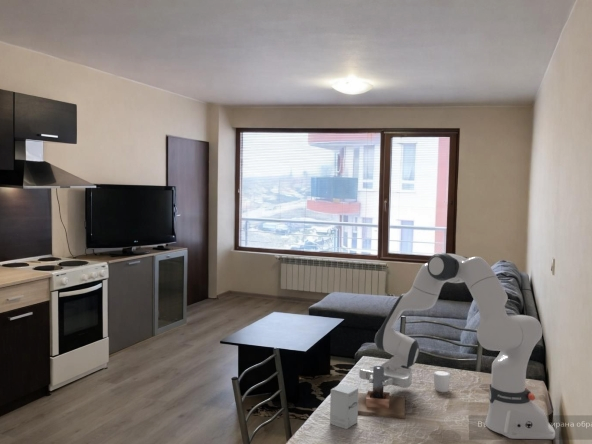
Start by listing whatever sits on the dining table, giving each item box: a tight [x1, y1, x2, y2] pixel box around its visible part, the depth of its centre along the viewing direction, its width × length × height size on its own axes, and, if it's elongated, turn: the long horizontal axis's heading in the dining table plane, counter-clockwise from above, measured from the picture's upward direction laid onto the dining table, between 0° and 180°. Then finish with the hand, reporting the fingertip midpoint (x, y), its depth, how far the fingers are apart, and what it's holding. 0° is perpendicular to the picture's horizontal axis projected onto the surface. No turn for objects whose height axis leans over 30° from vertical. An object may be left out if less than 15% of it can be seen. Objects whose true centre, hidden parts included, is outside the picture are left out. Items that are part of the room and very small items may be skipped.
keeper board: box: [358, 390, 406, 419], centre depth 204 cm, size 20×18×4 cm
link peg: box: [372, 365, 385, 399], centre depth 204 cm, size 4×4×12 cm
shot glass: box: [433, 370, 451, 393], centre depth 223 cm, size 7×7×7 cm
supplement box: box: [329, 383, 359, 430], centre depth 189 cm, size 7×7×13 cm
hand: (377, 382), depth 203 cm, fingers closed on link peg, 4 cm apart
